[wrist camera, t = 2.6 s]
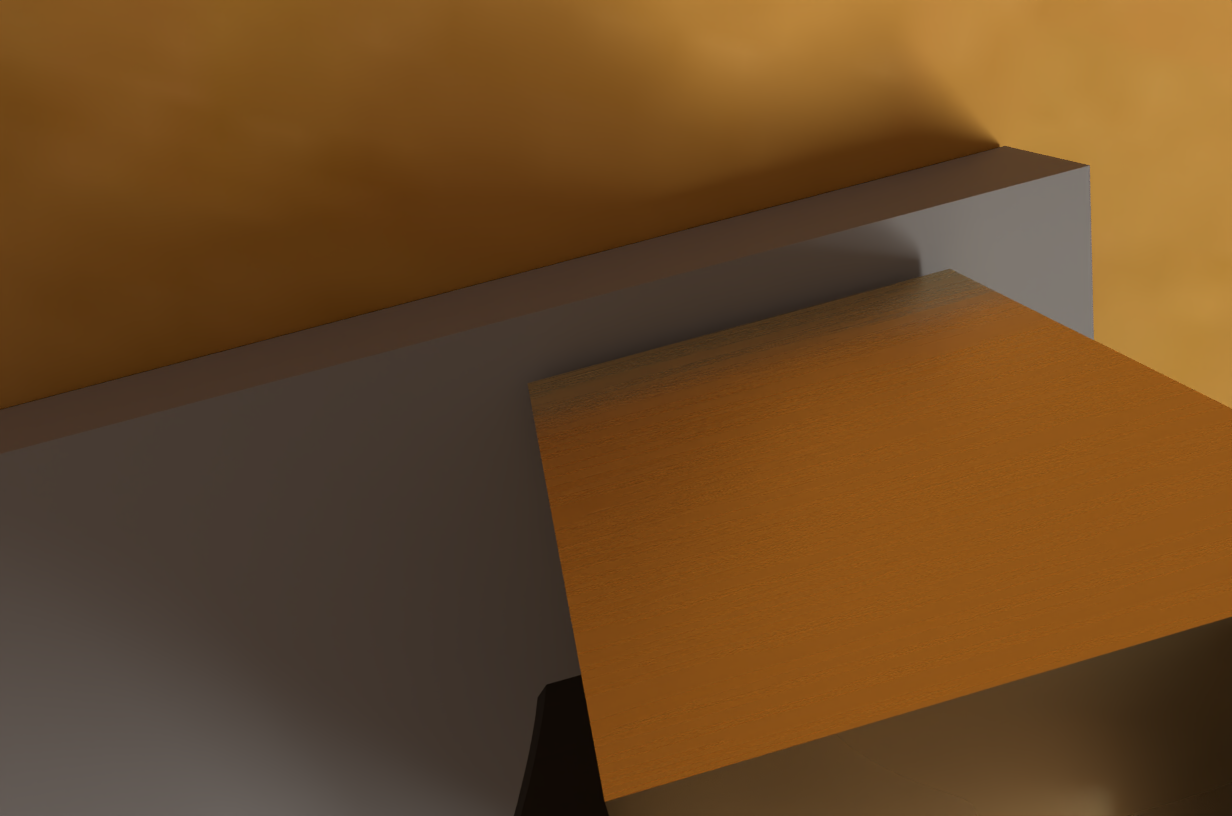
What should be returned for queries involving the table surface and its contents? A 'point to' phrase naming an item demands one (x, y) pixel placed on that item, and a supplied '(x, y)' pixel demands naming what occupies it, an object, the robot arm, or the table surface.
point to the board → (397, 510)
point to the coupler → (897, 566)
